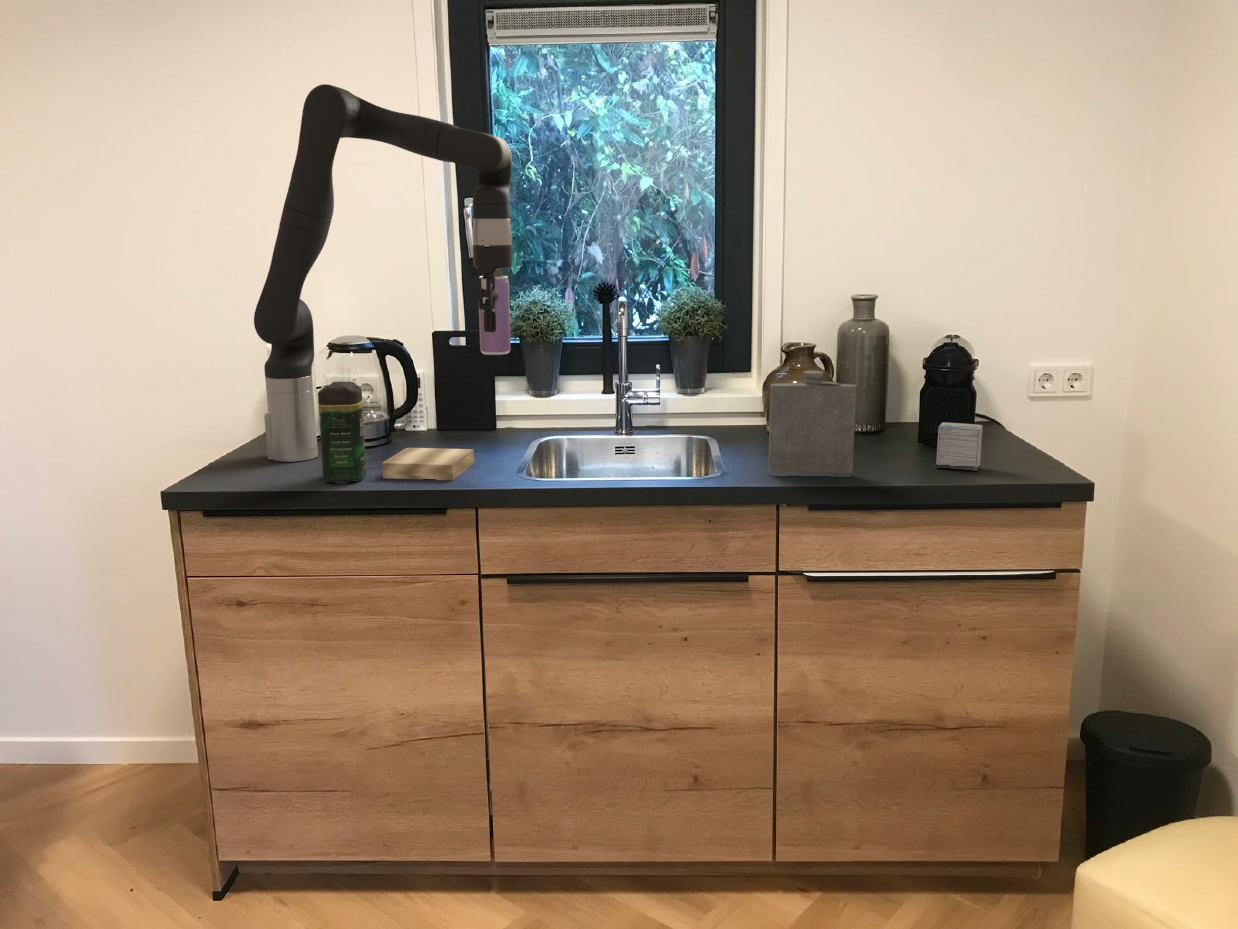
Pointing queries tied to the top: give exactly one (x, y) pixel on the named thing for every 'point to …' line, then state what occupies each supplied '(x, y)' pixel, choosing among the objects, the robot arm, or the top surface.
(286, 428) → the robot arm
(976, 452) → the medicine box
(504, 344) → the beverage can
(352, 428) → the coffee jar
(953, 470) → the top surface
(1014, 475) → the top surface
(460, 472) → the plinth
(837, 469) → the hip flask
